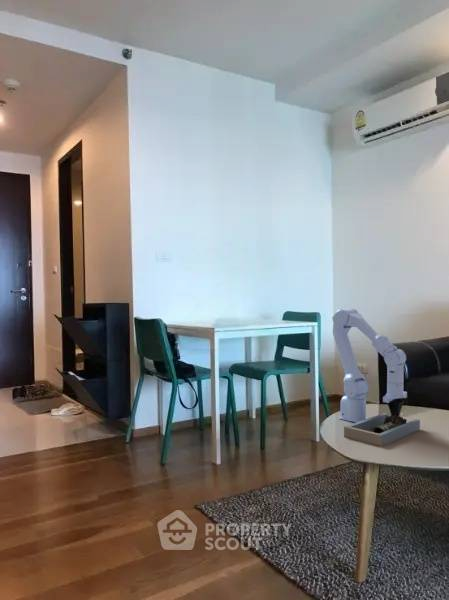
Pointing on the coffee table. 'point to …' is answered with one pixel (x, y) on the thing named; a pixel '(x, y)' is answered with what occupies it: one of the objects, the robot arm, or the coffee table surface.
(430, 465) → the coffee table surface
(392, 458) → the coffee table surface
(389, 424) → the jagged brown rock
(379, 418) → the grey rectangular tray
